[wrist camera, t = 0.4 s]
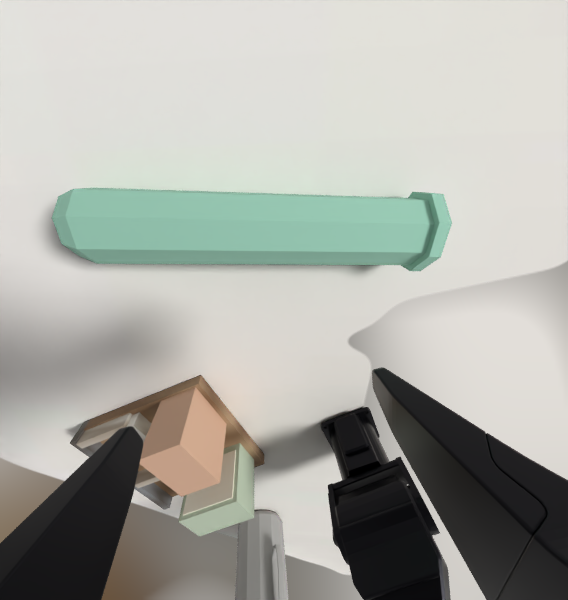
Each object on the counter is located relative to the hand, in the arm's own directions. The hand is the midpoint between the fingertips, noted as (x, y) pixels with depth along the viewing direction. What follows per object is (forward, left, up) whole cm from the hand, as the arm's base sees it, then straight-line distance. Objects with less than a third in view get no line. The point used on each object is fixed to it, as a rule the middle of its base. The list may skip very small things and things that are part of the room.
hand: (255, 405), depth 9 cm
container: (+4, -2, -14) cm, 15 cm away
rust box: (-11, +13, -13) cm, 21 cm away
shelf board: (-16, +17, -14) cm, 27 cm away
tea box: (-20, +14, -13) cm, 28 cm away
